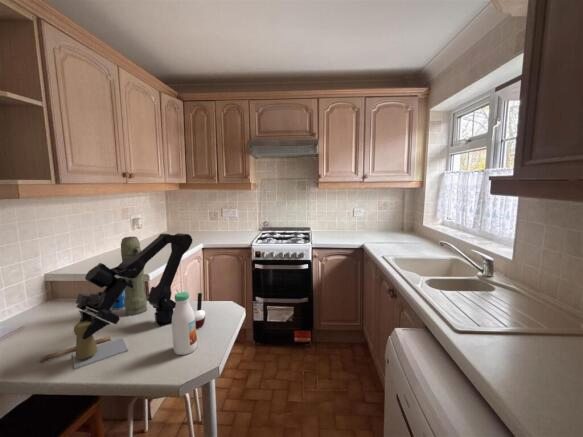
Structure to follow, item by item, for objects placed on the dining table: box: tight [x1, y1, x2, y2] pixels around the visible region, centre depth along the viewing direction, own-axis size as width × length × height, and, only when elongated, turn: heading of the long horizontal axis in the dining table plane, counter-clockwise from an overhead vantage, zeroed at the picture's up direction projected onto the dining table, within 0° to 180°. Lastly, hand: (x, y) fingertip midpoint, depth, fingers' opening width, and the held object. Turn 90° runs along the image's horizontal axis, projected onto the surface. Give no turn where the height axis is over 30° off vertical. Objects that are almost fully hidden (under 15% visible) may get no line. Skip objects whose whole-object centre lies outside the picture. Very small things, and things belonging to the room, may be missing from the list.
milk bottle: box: [171, 291, 198, 356], centre depth 98 cm, size 8×8×20 cm
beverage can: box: [111, 290, 125, 311], centre depth 136 cm, size 6×6×12 cm
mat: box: [72, 337, 129, 370], centre depth 98 cm, size 15×11×1 cm
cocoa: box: [194, 292, 206, 329], centre depth 115 cm, size 10×6×12 cm, turn 155°
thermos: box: [120, 236, 148, 316], centre depth 130 cm, size 9×12×35 cm
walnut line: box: [39, 335, 112, 363], centre depth 101 cm, size 20×2×1 cm, turn 130°
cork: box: [73, 321, 97, 359], centre depth 95 cm, size 6×6×11 cm
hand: (79, 336), depth 94 cm, fingers closed on cork, 5 cm apart
